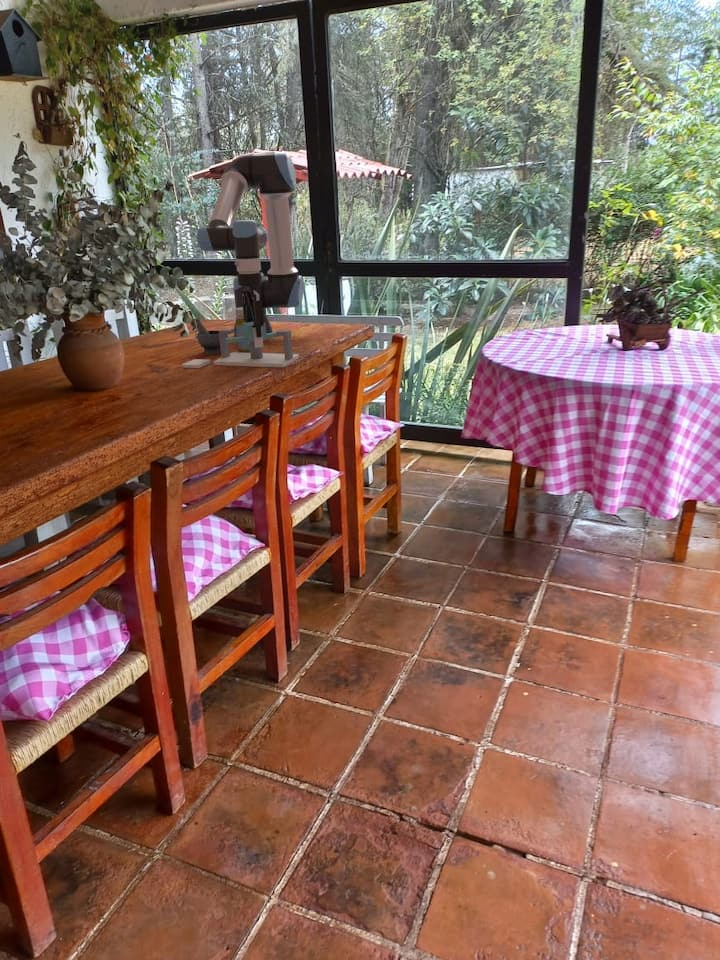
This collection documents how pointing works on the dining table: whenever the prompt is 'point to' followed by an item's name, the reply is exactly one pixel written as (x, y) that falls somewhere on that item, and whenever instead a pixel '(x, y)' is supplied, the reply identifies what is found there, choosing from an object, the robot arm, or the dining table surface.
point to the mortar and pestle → (208, 339)
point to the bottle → (241, 331)
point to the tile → (196, 363)
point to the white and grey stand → (256, 353)
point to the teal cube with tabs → (250, 334)
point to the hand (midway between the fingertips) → (255, 345)
